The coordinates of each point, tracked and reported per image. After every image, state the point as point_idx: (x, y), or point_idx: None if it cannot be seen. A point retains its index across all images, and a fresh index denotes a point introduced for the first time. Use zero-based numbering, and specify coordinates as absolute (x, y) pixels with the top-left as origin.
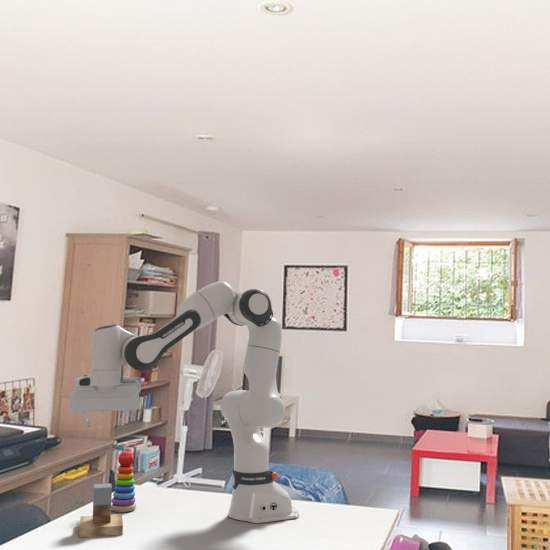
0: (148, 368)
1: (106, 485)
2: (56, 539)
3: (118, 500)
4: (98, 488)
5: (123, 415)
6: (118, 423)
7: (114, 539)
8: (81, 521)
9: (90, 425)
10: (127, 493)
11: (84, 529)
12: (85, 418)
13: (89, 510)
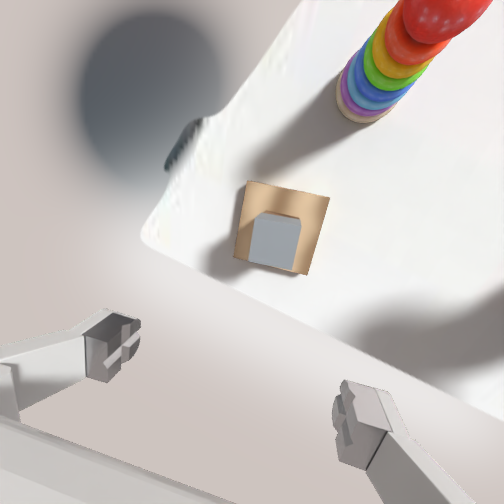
0: None
1: (283, 246)
2: (203, 245)
3: (352, 103)
4: (258, 263)
5: (426, 498)
6: (343, 404)
7: (287, 286)
8: (243, 216)
9: (131, 357)
10: (382, 102)
11: (242, 258)
12: (47, 393)
13: (289, 64)
